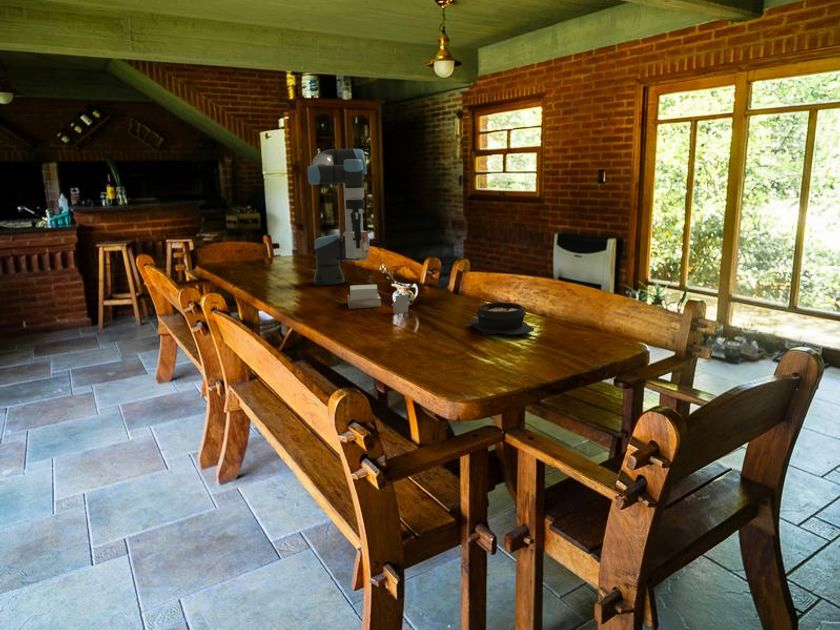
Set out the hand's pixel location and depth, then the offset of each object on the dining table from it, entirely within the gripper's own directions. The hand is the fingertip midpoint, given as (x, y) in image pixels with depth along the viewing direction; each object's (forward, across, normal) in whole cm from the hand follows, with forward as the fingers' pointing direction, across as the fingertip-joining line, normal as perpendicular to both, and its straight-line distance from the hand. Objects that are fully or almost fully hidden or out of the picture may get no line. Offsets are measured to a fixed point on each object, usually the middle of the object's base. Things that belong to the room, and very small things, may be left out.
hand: (357, 254), depth 245 cm
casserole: (+21, +54, +44) cm, 73 cm away
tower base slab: (+21, +1, +2) cm, 22 cm away
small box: (+1, 0, 0) cm, 1 cm away
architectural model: (+22, +18, +15) cm, 32 cm away
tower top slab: (+17, 0, +2) cm, 18 cm away
